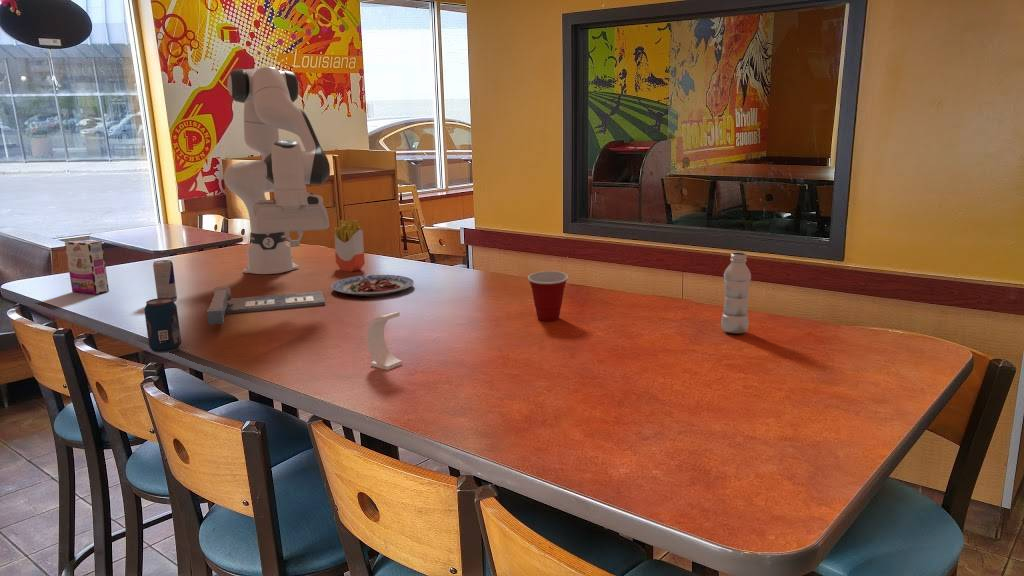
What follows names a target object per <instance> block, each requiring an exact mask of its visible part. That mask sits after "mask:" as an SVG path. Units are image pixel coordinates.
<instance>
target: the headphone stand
mask: <svg viewBox="0 0 1024 576" xmlns="http://www.w3.org/2000/svg"><path fill="white" fill-rule="evenodd" d="M398 317H400V311H393V312H391V313H387V314H383V315H381V316H377V317H375V318H373V319H371V321H370V323H369V324H368V327H367V328H366V335H365V336H366V338H365V340H366V345H367V349H368V352H369V354H370V356H371V358H372V359H373V361H371V362H370V367H374V368H378V369H382V370H386V371H389V370H391V369H394V368H396V367H399V366H401V365H402V364H403V360H401V359H398V357H395V355H394V354H392V351H390V350H389V347H388V346H387V343H386V340H385V328H386V324H387V322H388V320H392V319H395V318H398Z"/></svg>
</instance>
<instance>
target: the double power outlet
mask: <svg viewBox="0 0 1024 576" xmlns="http://www.w3.org/2000/svg"><path fill="white" fill-rule="evenodd" d="M325 301H326V300H325V298H324V294H323V291H322V290H320V291H309V292H306V291H305V292H297V293H285V294H284V293H283V294H272V295H270V294H269V295H259V296H247V297H233V298H231V300H229V301H228V304H227V308H226V311H225V315H227V314H228V315H230V314H241V313H251V312H252V313H253V312H262V311H263V312H264V311H274V310H275V311H277V310H285V309H287V310H288V309H295V308H298V309H299V308H308V307H319V306H325V305H326V302H325Z"/></svg>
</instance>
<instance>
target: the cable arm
mask: <svg viewBox="0 0 1024 576" xmlns="http://www.w3.org/2000/svg"><path fill="white" fill-rule="evenodd" d="M213 293H214V295H213V296H212V297H213V298H212V300H211V301H210V302H211V303H210V305H209V308H208V309H207V310H206V317H207V325H208V326H210V325H220V324H221V325H222V324H224V323H225V321H224V319H225V315H226V314H225V311H226V308H227V304H228V301H229V300H231V299H232V291H231V286H230V285H229V286H228V285H222V286H217V287H214V288H213Z"/></svg>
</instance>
